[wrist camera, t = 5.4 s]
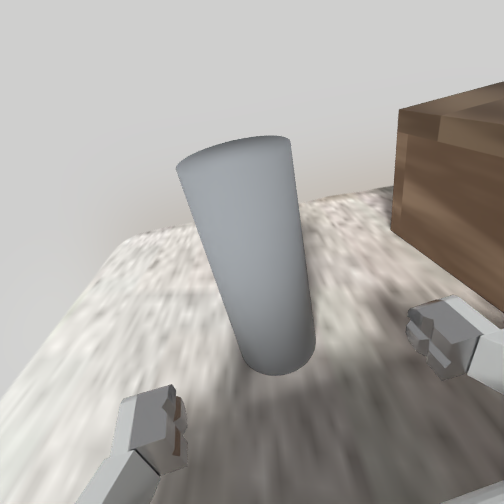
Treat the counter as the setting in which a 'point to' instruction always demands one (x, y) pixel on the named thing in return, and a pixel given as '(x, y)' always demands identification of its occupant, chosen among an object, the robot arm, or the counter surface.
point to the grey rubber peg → (255, 246)
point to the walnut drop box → (454, 186)
